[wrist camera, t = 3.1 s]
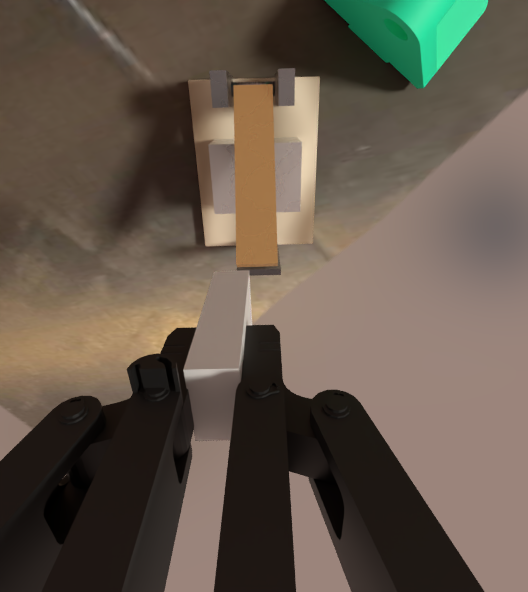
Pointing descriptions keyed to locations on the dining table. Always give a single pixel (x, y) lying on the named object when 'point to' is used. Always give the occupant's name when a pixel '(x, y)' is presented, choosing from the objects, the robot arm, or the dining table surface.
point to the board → (286, 124)
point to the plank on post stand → (285, 156)
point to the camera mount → (411, 30)
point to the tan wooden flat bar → (255, 174)
